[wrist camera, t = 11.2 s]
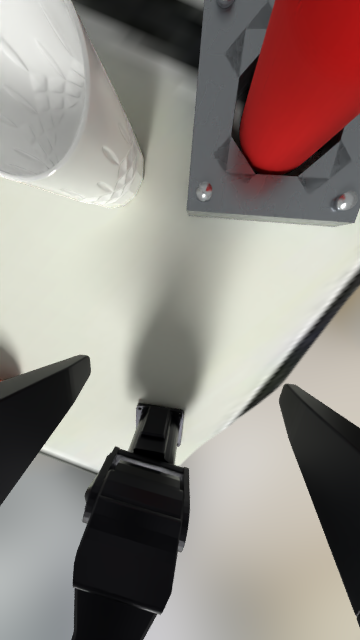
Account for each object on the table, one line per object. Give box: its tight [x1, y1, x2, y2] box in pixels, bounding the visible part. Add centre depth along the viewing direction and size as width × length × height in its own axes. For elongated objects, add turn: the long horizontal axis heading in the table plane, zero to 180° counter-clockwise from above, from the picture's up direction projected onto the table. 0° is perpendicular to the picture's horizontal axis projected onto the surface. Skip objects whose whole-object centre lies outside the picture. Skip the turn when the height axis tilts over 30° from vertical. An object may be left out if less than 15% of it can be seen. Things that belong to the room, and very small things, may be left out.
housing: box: [187, 0, 360, 227], centre depth 14 cm, size 13×13×3 cm
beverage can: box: [239, 0, 360, 175], centre depth 10 cm, size 6×6×12 cm
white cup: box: [0, 0, 144, 209], centre depth 13 cm, size 8×8×10 cm
